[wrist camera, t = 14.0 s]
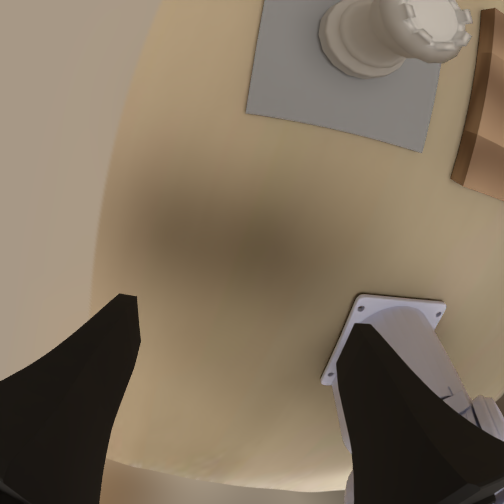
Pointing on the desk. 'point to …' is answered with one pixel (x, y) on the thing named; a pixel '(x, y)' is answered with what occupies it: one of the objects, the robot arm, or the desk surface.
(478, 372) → the desk surface
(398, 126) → the rubber pad
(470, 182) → the pocket holder
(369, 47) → the rook chess piece
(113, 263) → the desk surface
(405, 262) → the desk surface
